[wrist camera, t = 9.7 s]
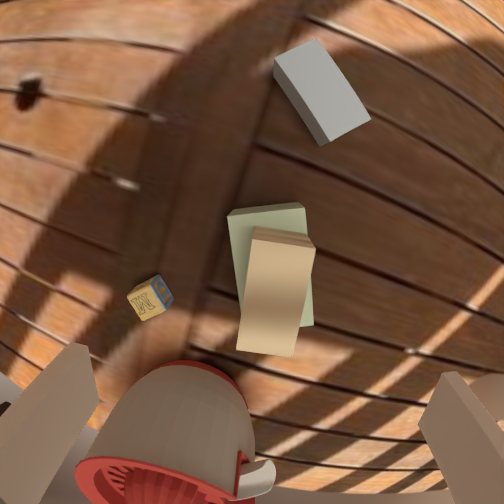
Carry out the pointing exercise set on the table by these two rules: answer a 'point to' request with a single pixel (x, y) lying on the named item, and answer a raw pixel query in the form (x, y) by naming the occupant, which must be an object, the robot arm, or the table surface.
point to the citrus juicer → (176, 443)
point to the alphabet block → (150, 298)
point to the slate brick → (319, 91)
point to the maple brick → (275, 291)
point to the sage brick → (242, 234)
